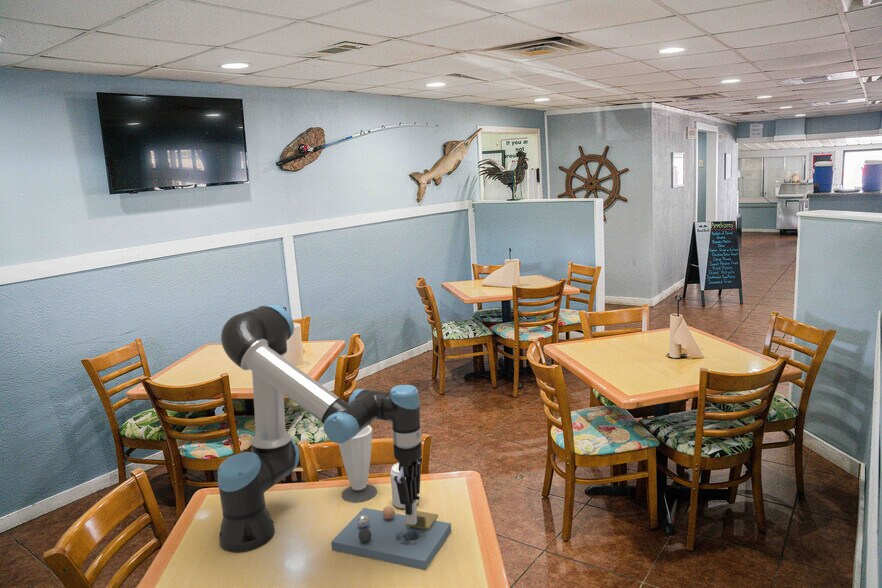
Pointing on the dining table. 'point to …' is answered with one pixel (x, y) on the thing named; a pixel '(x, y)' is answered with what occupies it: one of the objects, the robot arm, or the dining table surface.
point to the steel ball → (362, 521)
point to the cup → (358, 466)
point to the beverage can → (395, 494)
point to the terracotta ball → (388, 512)
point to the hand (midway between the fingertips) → (411, 522)
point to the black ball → (364, 535)
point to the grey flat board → (392, 540)
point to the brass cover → (424, 520)
